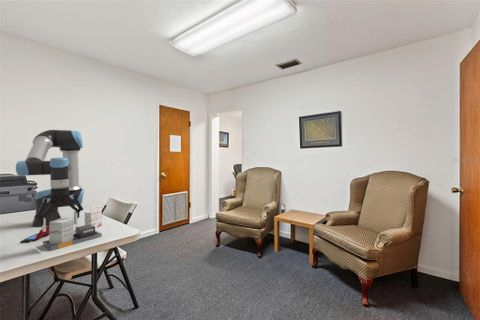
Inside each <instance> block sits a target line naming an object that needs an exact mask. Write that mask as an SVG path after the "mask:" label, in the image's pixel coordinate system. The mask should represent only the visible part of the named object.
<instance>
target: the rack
mask: <svg viewBox="0 0 480 320" xmlns="http://www.w3.org/2000/svg"><path fill="white" fill-rule="evenodd" d="M101 237H102V233H101V232H99V231H97V230H95V235H91V236H88V237H84V238H80V239H78V238H76V232H75V233H73V241H68V242H64V243H60V244H57V245H54V246H52V245H51V244H49V239H48V240H45V241H42V246H44V247H45V248H47V250H49V251H56V250H60V249H63V248H68V247H70V246H74V245H76V244H81V243H85V242H88V241H91V240H95V239H98V238H101Z"/></svg>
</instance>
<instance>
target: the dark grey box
mask: <svg viewBox="0 0 480 320" xmlns="http://www.w3.org/2000/svg"><path fill="white" fill-rule="evenodd" d="M95 231H96V229H95V226H93V225H90V224H89V225H85V224H84V225H81V226H77V227H75V233H76V238H78V239H80V238H84V237H88V236H91V235H95Z"/></svg>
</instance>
